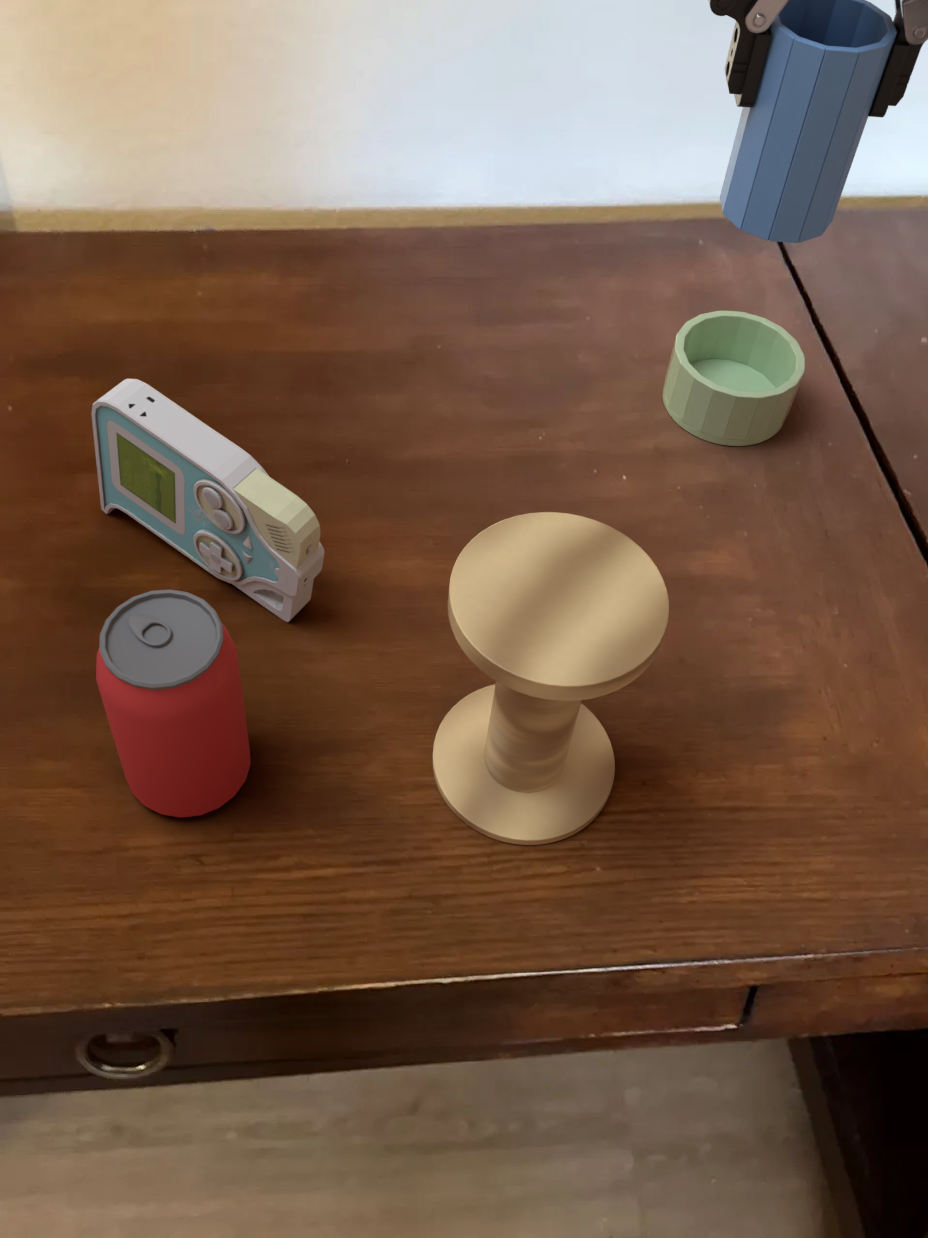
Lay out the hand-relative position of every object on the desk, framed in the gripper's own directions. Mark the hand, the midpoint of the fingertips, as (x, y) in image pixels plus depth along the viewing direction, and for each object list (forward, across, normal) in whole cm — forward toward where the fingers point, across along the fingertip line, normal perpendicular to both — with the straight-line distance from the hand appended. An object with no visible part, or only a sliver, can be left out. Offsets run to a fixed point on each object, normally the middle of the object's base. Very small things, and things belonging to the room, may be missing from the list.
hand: (808, 102), depth 59 cm
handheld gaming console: (+27, -30, -9) cm, 41 cm away
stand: (+27, -11, -22) cm, 37 cm away
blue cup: (+6, 0, 0) cm, 6 cm away
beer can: (+27, -29, -23) cm, 46 cm away
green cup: (+27, +3, +8) cm, 28 cm away
